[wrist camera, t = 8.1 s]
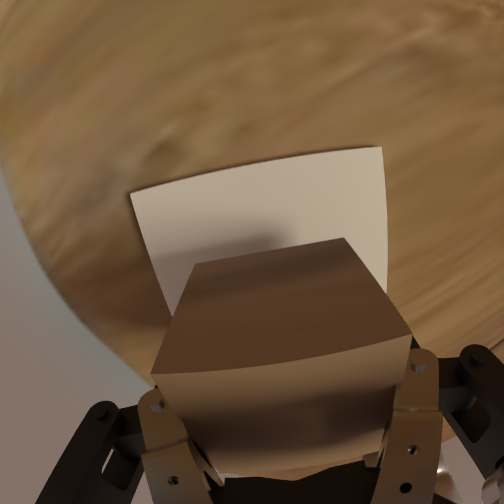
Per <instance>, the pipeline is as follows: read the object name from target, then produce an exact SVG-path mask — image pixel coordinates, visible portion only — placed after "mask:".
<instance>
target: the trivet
mask: <svg viewBox="0 0 504 504" xmlns="http://www.w3.org/2000/svg"><path fill="white" fill-rule="evenodd" d="M130 196H131V200H132V203H133V207H134V210H135V213H136V217H137V220H138V223H139V226H140V230H141V233H142V236H143V239H144V242H145V245H146V248H147V251H148V254H149V257H150V260H151V262H152V265H153V268H154V271H155V274H156V276H157V279H158V282H159V284H160V287H161V290H162V292H163V295H164V298H165V300H166V303H167V305H168V308H169V310H170V313H171V315H172V317H173V315H174V312H175V310H176V307H177V305H178V303H179V300H180V298H181V295H182V293H183V291H184V288H185V286H186V283H187V281H188V279H189V276H190V274H191V272H192V269H193V267H194V265H195V264H196V263H201V262H207V261H213V260H218V259H224V258H230V257H235V256H241V255H247V254H252V253H258V252H264V251H269V250H275V249H281V248H286V247H292V246H298V245H303V244H309V243H314V242H320V241H326V240H331V239H337V238H343V237H344V238H345V239H346V241H347V242H348V243H349V244H350V246H351V247H352V248H353V250H354V251H355V252H356V253H357V255H358V256H359V257H360V259H361V260H362V261H363V263H364V264H365V265H366V267H367V268H368V269H369V271H370V272H371V274H372V275H373V276H374V278H375V279H376V280H377V282H378V283H379V285H380V286H381V287H382V289H383V290H384V292H385V293H386V289H387V208H386V191H385V178H384V166H383V157H382V148H381V146H368V147H358V148H349V149H340V150H332V151H324V152H317V153H310V154H303V155H296V156H290V157H284V158H278V159H272V160H266V161H261V162H255V163H250V164H245V165H240V166H235V167H230V168H225V169H221V170H216V171H211V172H207V173H203V174H198V175H194V176H190V177H186V178H182V179H178V180H174V181H170V182H166V183H162V184H159V185H155V186H151V187H148V188H144V189H140V190H137V191H134V192H132V193H130Z"/></svg>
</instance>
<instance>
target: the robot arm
mask: <svg viewBox="0 0 504 504" xmlns="http://www.w3.org/2000/svg"><path fill="white" fill-rule="evenodd" d="M443 416H444V417H445V419H446V420H447V422H448V423H449V425H450V426H451V428H452V429H453V431H454V432H455V433H456V435H457V436H458V438H459V439H460V441H461V442H462V444H463V445H464V447H465V448H466V450H467V452H468V453H469V455H470V456H471V458H472V459H473V461H474V462H475V464H476V466H477V467H478V469H479V470H480V472H481V474H482V475H483V477H484V479H485V482H484V484H483V487H482V497H481V498H482V500H483V502H484V504H504V364H503V363H502V362H501V361H500V360H499V359H498V358H497V357H496V356H495V355H494V354H493V353H492V352H491V351H490V350H489V349H488V348H486V347H484V346H482V345H477V344H473V345H469V346H466V347H465V348H464V349H463V350H462V351H461V353H460V356H459V357H455V358H437V357H436V356H435V354H434V353H432V352H431V351H429V350H426V349H422V348H420V346H419V345H418V343H417V342H416V340H415V338H414V337H413V335H412V340H411V346H410V351H409V356H408V360H407V365H406V369H405V373H404V378H403V382H402V383H399V384H396V388H395V392H394V397H393V404H392V409H391V415H390V420H389V421H387V422H386V425H385V428H384V432H383V437H382V441H381V445H380V449H379V452H378V456H377V459H376V462H375V465H374V467H366V465H365V460H361V461H357V462H353V463H349V464H344V465H340V466H335V467H330V468H328V469H326V470H323V471H321V472H318V473H316V474H313V475H310V476H308V477H305V478H302V479H300V480H296V481H289V480H279V479H271V478H264V477H244V478H243V477H242V478H225V484H223V482H222V480H221V479H220V478H219V476H218V475H217V472H216V471H215V468H214V466H213V464H212V462H211V460H210V458H209V456H208V453H207V452H206V451H205V450H204V448H199V446H198V445H197V444H196V442H195V441H194V440H193V438H192V437H191V435H190V432H189V430H188V427H187V424H186V423H185V422H184V420H183V419H182V417H181V416H176V414H175V413H174V411H173V410H172V408H171V407H170V405H169V404H168V402H167V401H166V399H165V397H164V396H163V394H162V393H161V391H160V390H159V388H158V386H157V385H156V386H155V389H153V390H150V391H148V392H147V393H145V394H144V395H143V396H142V397H141V398H140V400H139V402H138V405H134V406H130V407H126V408H121V409H119V408H118V407H117V406H116V405H115V404H114V403H113V402H111V401H101V402H98V403H96V404H95V405H93V406H92V407H91V408H90V409H89V411H88V412H87V414H86V416H85V417H84V419H83V421H82V422H81V424H80V425H79V427H78V429H77V430H76V432H75V434H74V435H73V437H72V439H71V440H70V442H69V444H68V445H67V447H66V449H65V451H64V452H63V454H62V456H61V457H60V459H59V461H58V463H57V464H56V466H55V468H54V470H53V471H52V473H51V475H50V477H49V479H48V480H47V482H46V484H45V486H44V488H43V490H42V492H41V493H40V495H39V497H38V499H37V501H36V503H35V504H131V501H132V499H133V496H134V494H135V492H136V489H137V486H138V484H139V482H140V479H141V477H142V475H143V472H144V471H145V474H146V478H147V482H148V486H149V489H150V493H151V496H152V500H153V503H154V504H457V503H455V502H453V501H451V500H449V499H447V498H445V497H443V496H441V495H439V494H437V493H435V492H434V489H435V484H436V478H437V472H438V465H439V457H440V449H441V438H442V425H443ZM111 449H113V450H114V451H113V453H112V455H111V457H110V459H109V461H108V463H107V465H106V467H105V469H104V471H103V473H102V467H103V465H104V463H105V461H106V459H107V457H108V455H109V453H110V451H111Z"/></svg>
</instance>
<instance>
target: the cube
mask: <svg viewBox="0 0 504 504" xmlns="http://www.w3.org/2000/svg"><path fill="white" fill-rule="evenodd" d="M412 335H413V333H412V331H411V330H410V328H409V327H408V325H407V324H406V322H405V321H404V319H403V318H402V316H401V315H400V313H399V312H398V310H397V309H396V307H395V306H394V305H393V303H392V302H391V300H390V299H389V297H388V296H387V294H386V293H385V292H384V290H383V289H382V287H381V286H380V285H379V283H378V282H377V280H376V279H375V278H374V276H373V275H372V274H371V272H370V271H369V269H368V268H367V267H366V265H365V264H364V263H363V261H362V260H361V259H360V257H359V256H358V255H357V253H356V252H355V251H354V250H353V248H352V247H351V246H350V244H349V243H348V242H347V241H346V239H345V238H344V237H343V238H337V239H331V240H326V241H320V242H314V243H309V244H303V245H298V246H292V247H286V248H281V249H275V250H269V251H264V252H258V253H252V254H247V255H241V256H235V257H230V258H224V259H218V260H213V261H207V262H201V263H196V264H195V265H194V267H193V269H192V272H191V274H190V276H189V279H188V281H187V283H186V286H185V288H184V291H183V293H182V295H181V298H180V300H179V303H178V305H177V307H176V310H175V312H174V315H173V317H172V320H171V322H170V325H169V327H168V330H167V332H166V335H165V337H164V340H163V342H162V345H161V347H160V350H159V353H158V355H157V358H156V360H155V363H154V366H153V368H152V371H151V374H150V375H151V376H152V378H153V380H154V381H155V383H156V385H157V386H158V388H159V390H160V391H161V393H162V394H163V396H164V397H165V399H166V401H167V402H168V404H169V405H170V407H171V408H172V410H173V411H174V413H175V414H176V416H181V417H182V419H183V420H184V422H185V423H186V424H187V427H188V430H189V432H190V435H191V437H192V438H193V440H194V441H195V442H196V444H197V445H198V446H199V448H204V450H205V451H206V452H207V453H208V456H209V458H210V460H211V462H212V464H213V465H214V466H215V468H216V469H217V470H218V471H219V473H249V472H265V471H276V470H286V469H294V468H301V467H308V466H314V465H320V464H326V463H331V462H336V461H340V460H345V459H349V458H353V457H358V456H362V455H365V454H369V453H373V452H376V451H379V449H380V445H381V441H382V437H383V432H384V428H385V425H386V422H387V421H389V420H390V415H391V409H392V404H393V397H394V392H395V388H396V384H399V383H402V382H403V378H404V373H405V369H406V365H407V360H408V356H409V351H410V346H411V340H412Z"/></svg>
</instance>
